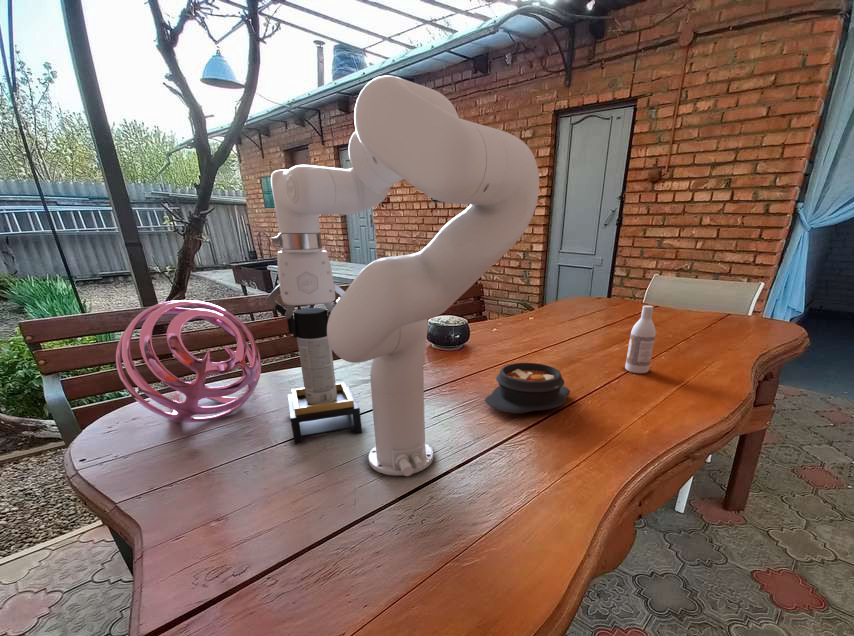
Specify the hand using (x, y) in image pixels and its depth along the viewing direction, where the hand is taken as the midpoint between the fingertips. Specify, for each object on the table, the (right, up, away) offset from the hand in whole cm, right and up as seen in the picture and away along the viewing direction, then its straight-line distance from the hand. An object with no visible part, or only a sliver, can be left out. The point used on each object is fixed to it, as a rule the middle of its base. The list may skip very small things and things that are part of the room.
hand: (313, 334), depth 88 cm
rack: (0, -19, +8) cm, 21 cm away
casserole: (+48, -14, +21) cm, 55 cm away
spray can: (0, -14, +6) cm, 15 cm away
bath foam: (+86, -4, +45) cm, 97 cm away
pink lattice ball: (-29, -17, +13) cm, 37 cm away
